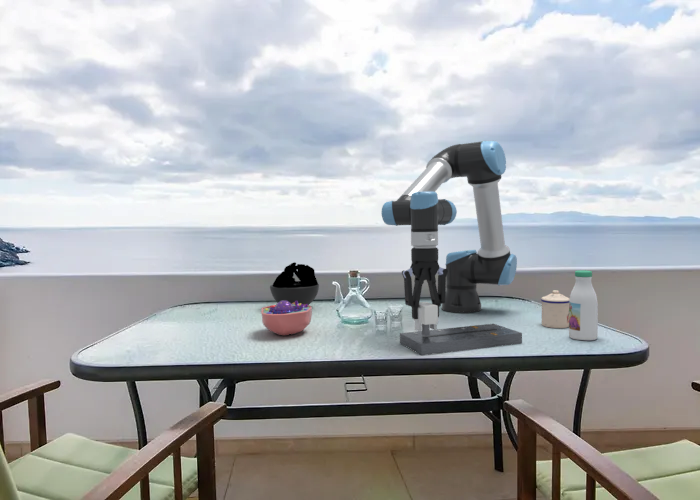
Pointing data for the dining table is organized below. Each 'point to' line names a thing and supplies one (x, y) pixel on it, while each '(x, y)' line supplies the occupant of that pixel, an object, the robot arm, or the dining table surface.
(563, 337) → the dining table surface
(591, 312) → the milk bottle
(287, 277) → the coal bowl
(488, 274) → the robot arm
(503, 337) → the fader console
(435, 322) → the fader knob
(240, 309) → the dining table surface
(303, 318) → the cell model
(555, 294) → the teacup with lid
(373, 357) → the dining table surface
